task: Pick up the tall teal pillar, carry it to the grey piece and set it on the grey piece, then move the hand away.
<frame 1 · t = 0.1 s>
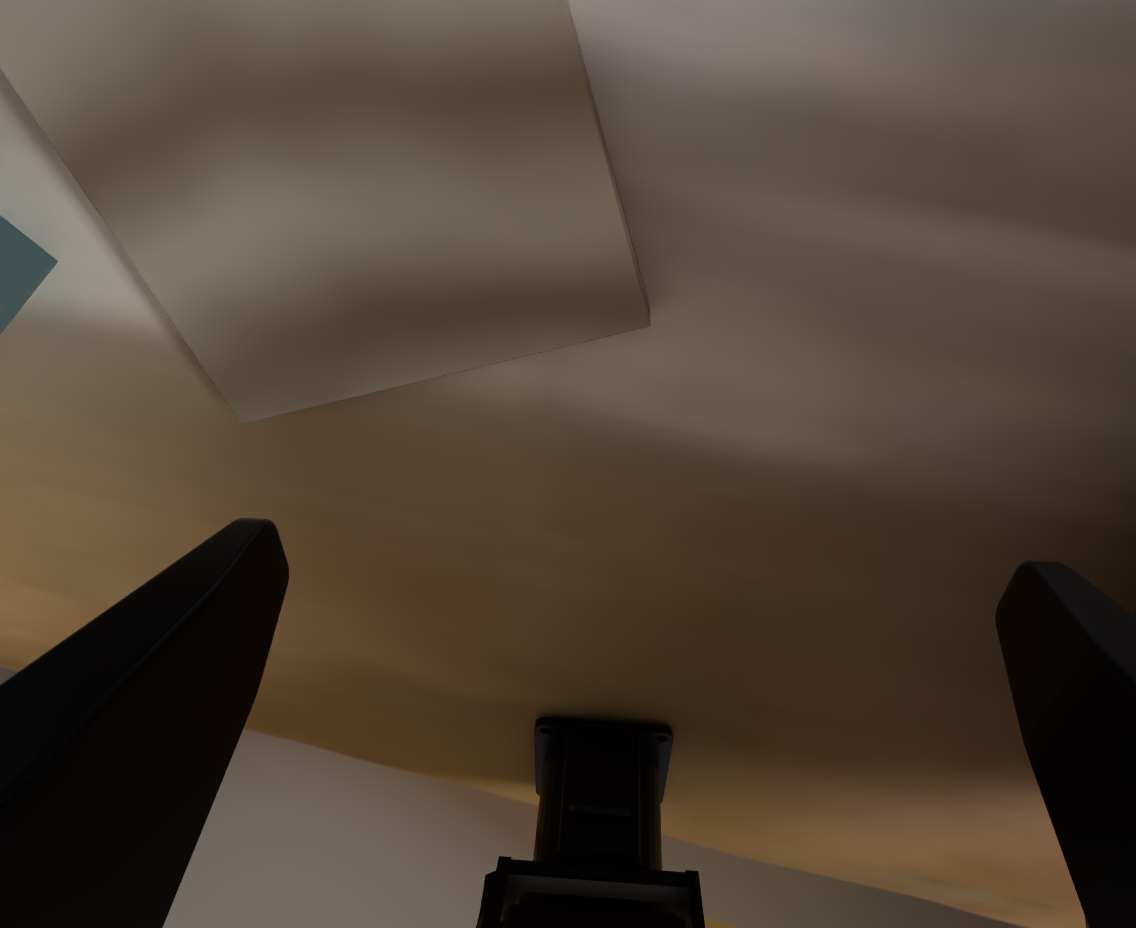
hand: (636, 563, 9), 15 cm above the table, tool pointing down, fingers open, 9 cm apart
grey piece: (246, 38, 19), on the table
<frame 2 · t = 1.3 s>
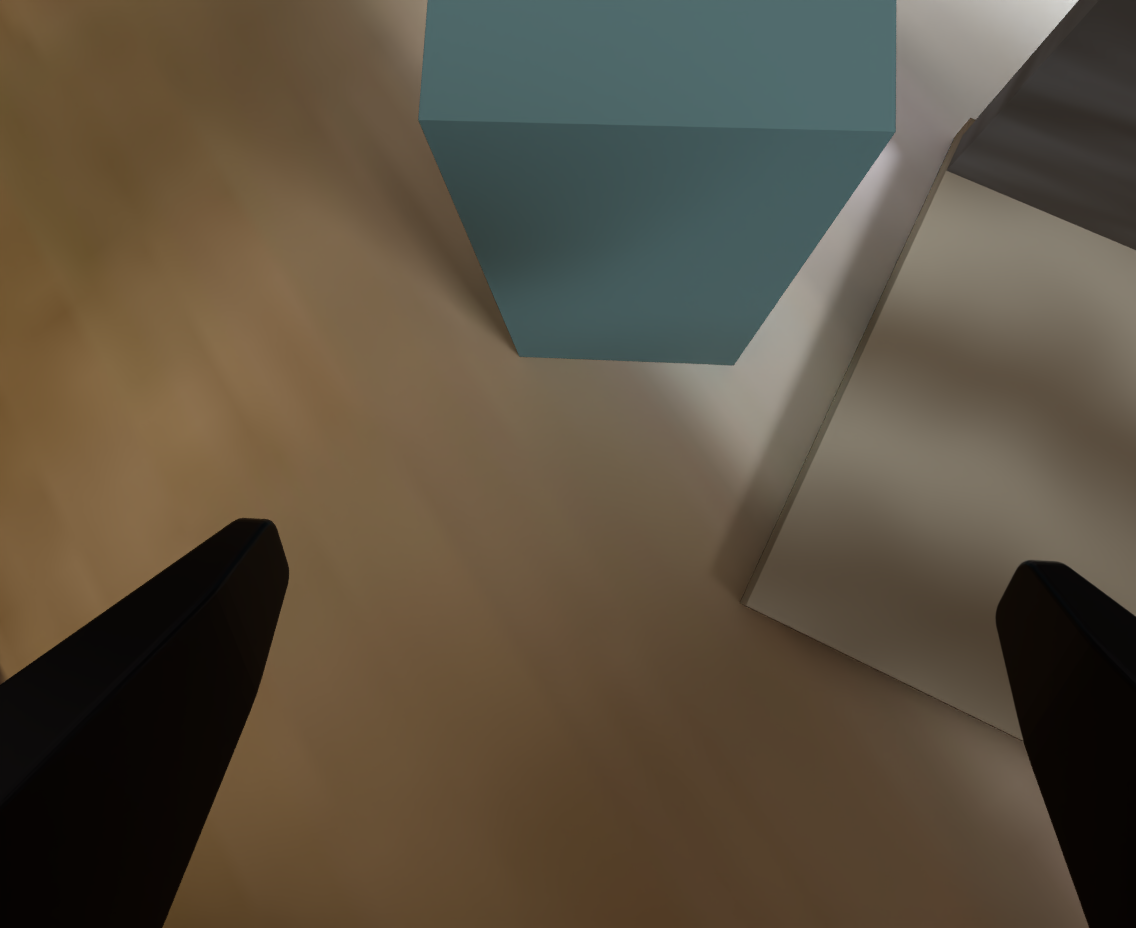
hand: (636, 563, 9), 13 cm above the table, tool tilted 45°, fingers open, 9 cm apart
tall teal pillar: (628, 297, 24), on the table
grey piece: (1069, 385, 23), on the table
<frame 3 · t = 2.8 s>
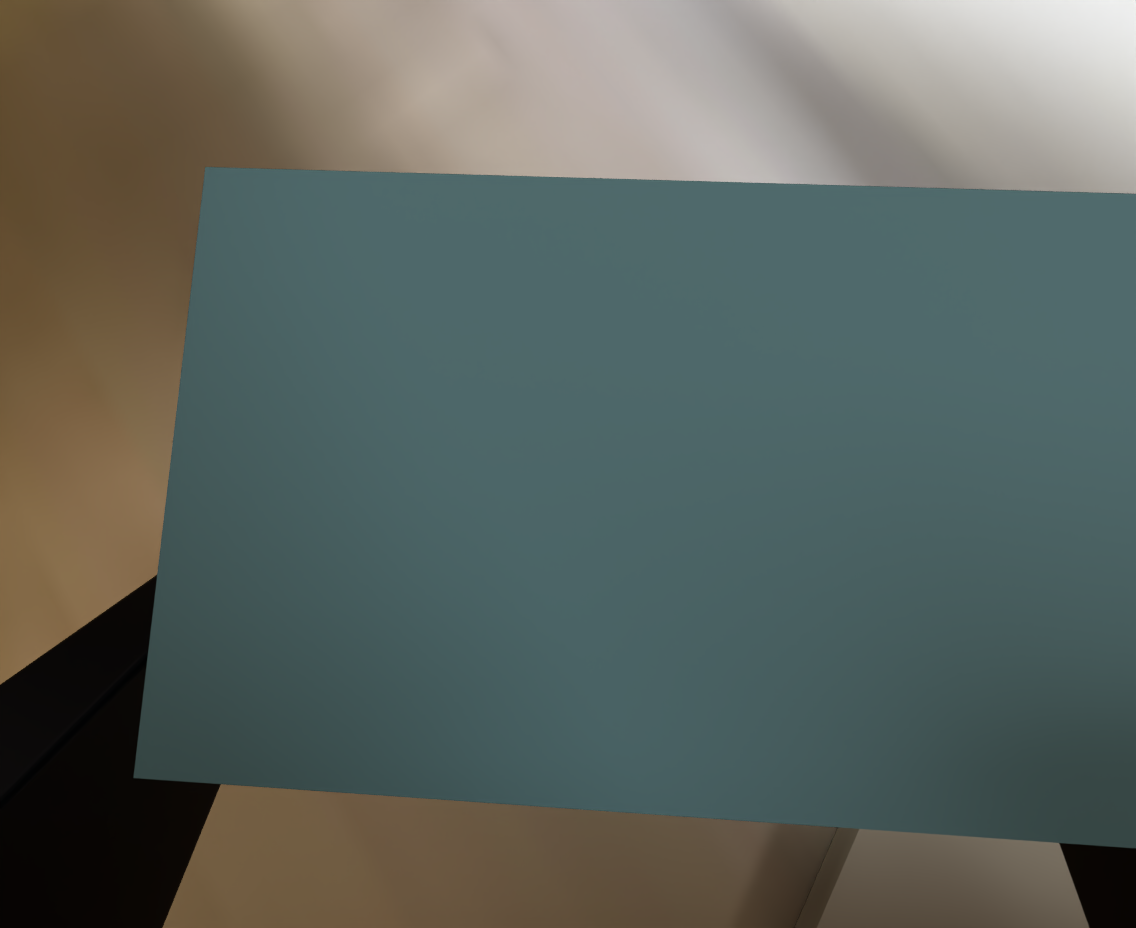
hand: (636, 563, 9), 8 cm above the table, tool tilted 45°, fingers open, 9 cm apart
tall teal pillar: (621, 539, 18), on the table
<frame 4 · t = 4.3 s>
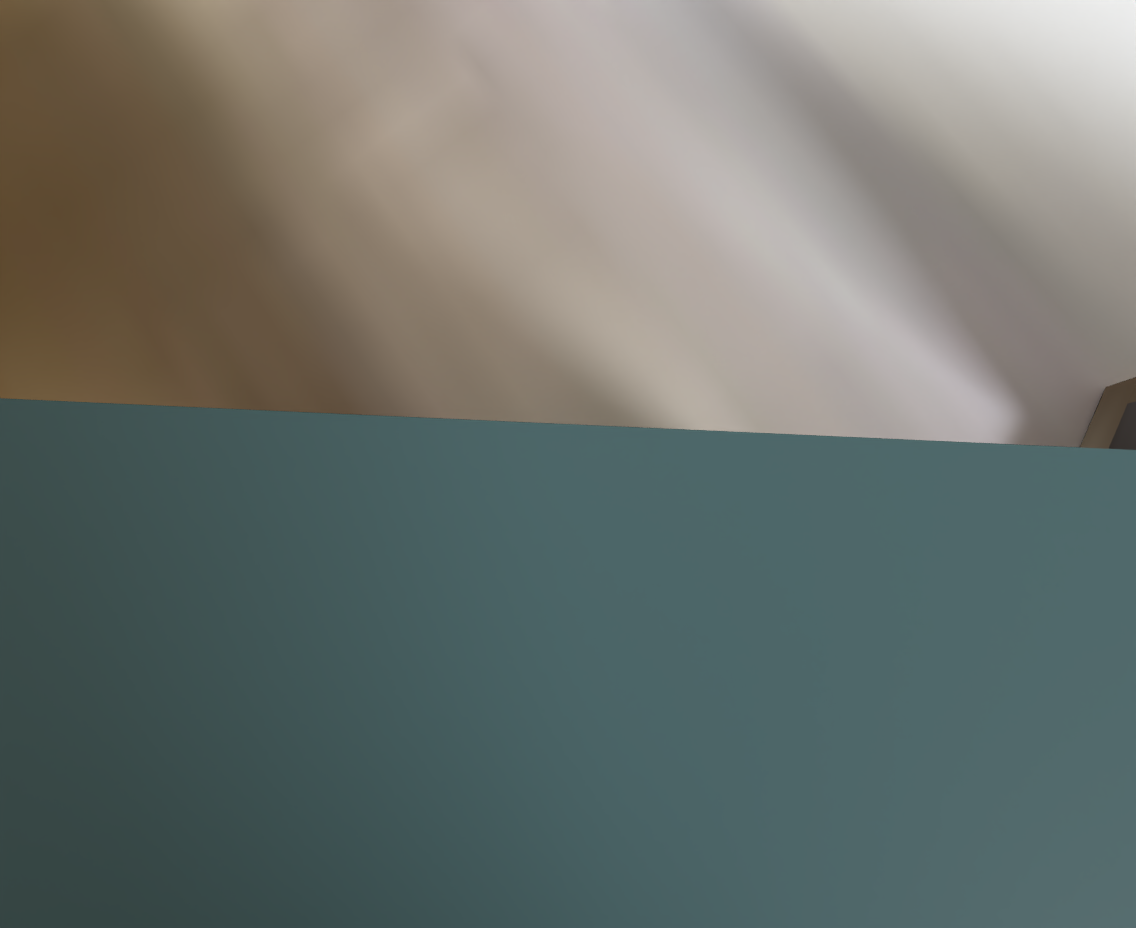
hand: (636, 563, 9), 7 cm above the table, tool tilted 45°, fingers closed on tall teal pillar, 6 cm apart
tall teal pillar: (619, 627, 16), on the table, touching gripper
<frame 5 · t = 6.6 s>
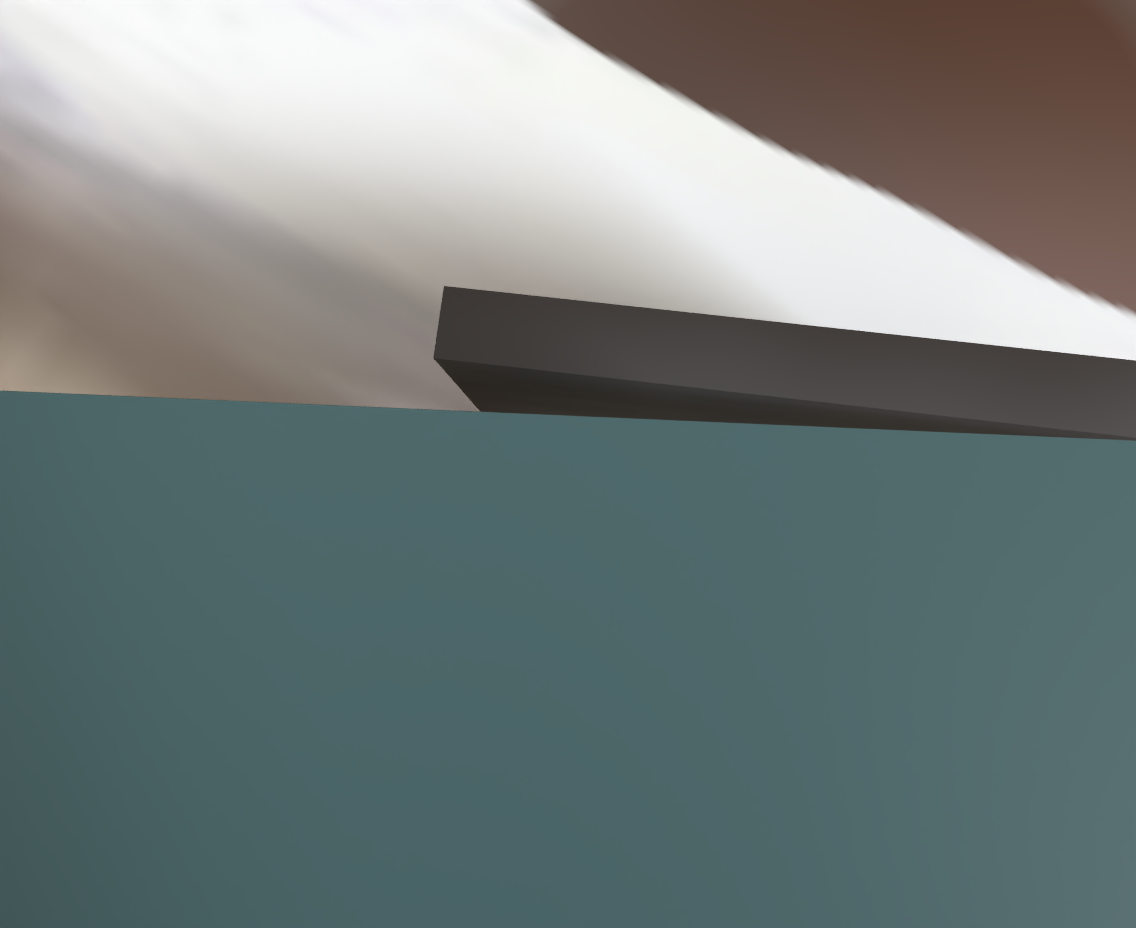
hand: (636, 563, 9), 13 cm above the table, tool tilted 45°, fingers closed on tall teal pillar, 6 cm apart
tall teal pillar: (618, 626, 16), point 7 cm above the table, touching gripper
grey piece: (697, 607, 23), on the table
when the fingers open (8 cm above the table, at t = 8.9 s): tall teal pillar stays where it is, resting on grey piece.
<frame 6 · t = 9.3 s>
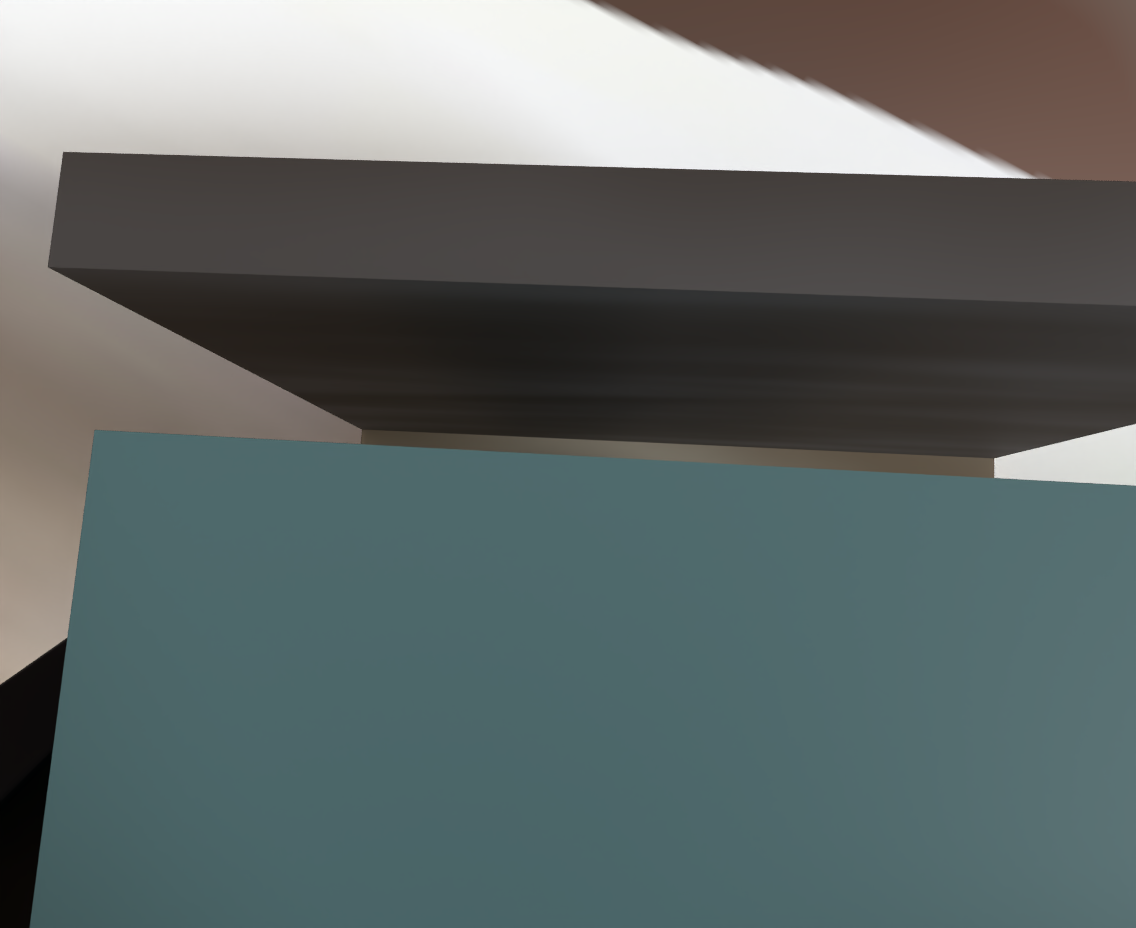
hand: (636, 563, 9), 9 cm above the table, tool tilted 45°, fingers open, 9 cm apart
tall teal pillar: (618, 623, 17), point 1 cm above the table, touching grey piece
grey piece: (617, 619, 18), on the table
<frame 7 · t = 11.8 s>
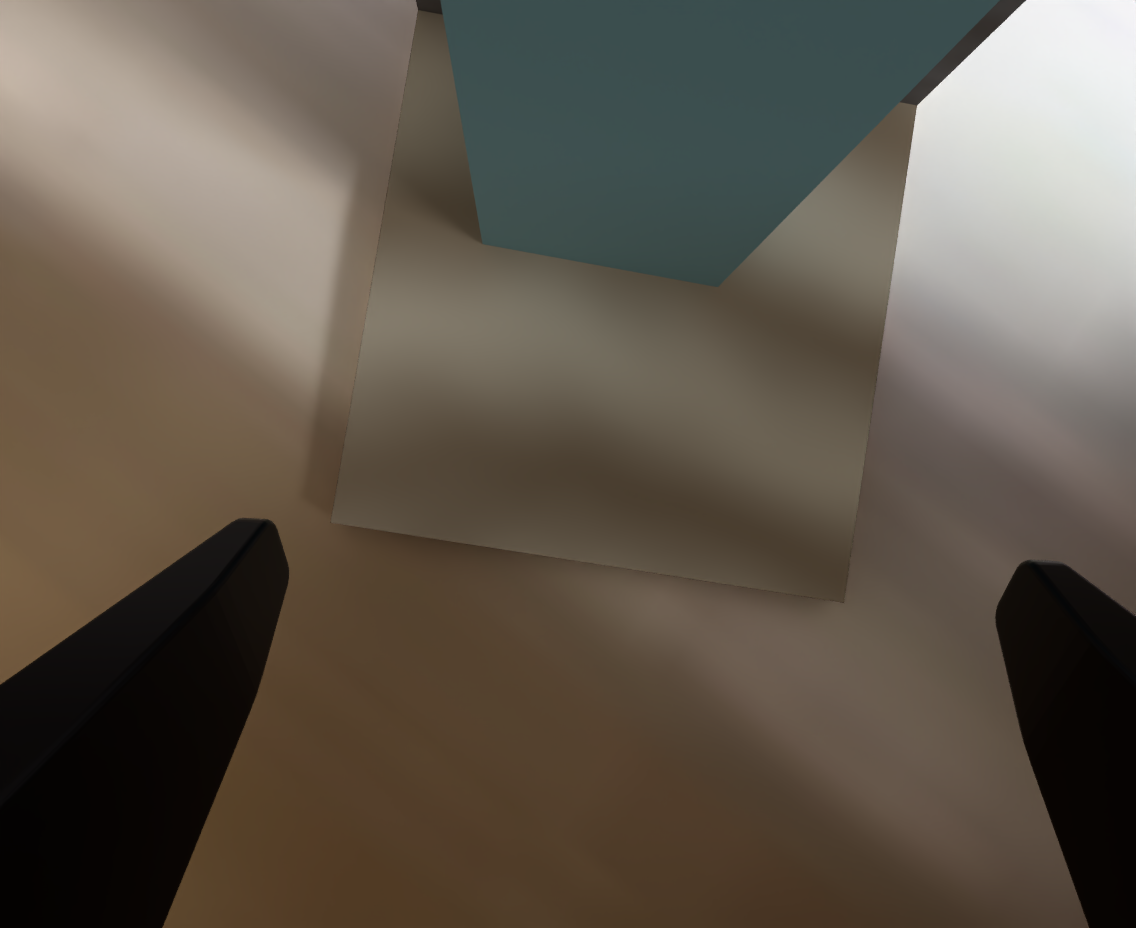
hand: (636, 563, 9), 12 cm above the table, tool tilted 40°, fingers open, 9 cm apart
tall teal pillar: (613, 194, 21), point 1 cm above the table, touching grey piece
grey piece: (609, 207, 22), on the table
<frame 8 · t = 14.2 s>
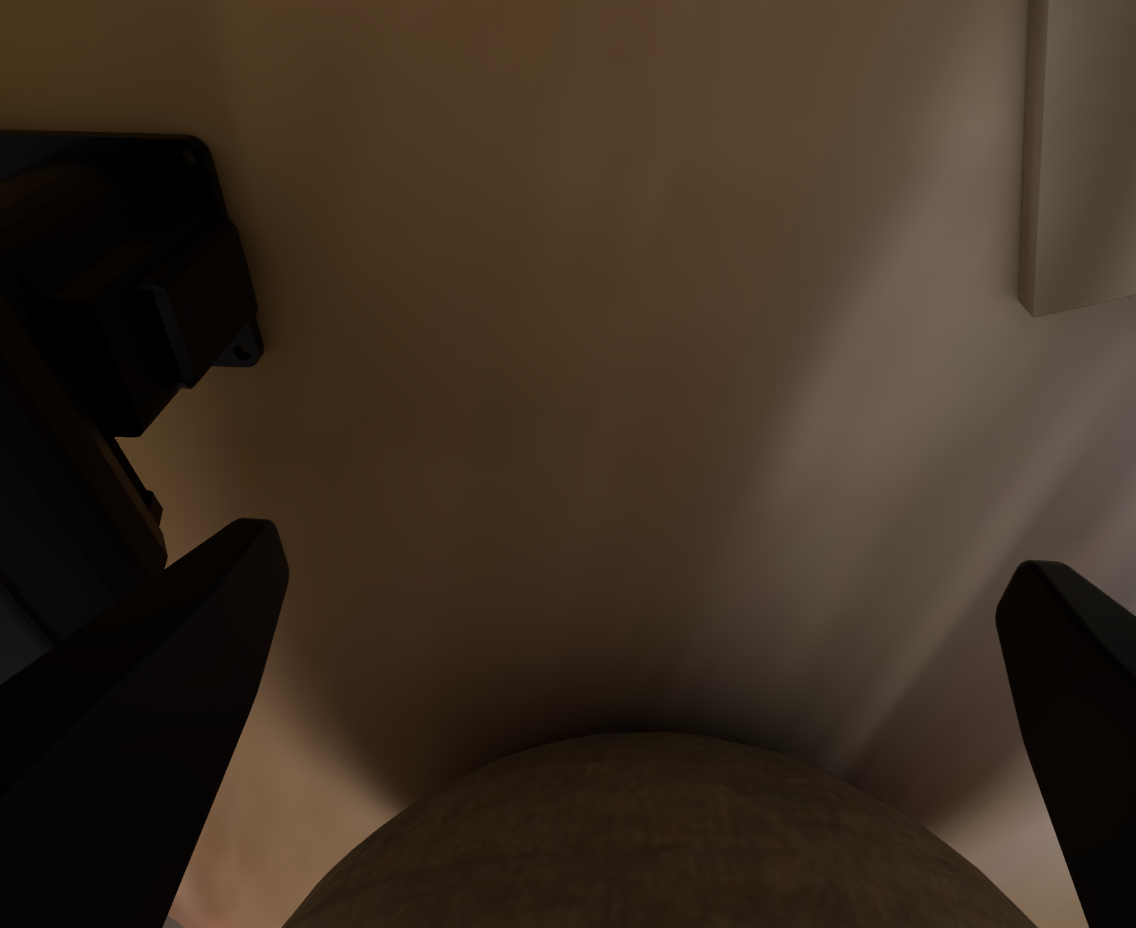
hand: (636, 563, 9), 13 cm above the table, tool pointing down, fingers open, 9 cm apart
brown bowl: (656, 820, 40), on the table
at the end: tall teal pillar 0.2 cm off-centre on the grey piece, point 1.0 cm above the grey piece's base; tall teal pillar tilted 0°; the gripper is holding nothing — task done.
